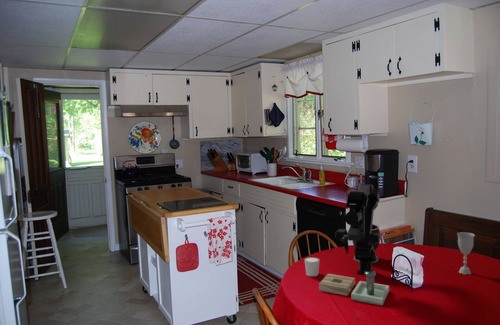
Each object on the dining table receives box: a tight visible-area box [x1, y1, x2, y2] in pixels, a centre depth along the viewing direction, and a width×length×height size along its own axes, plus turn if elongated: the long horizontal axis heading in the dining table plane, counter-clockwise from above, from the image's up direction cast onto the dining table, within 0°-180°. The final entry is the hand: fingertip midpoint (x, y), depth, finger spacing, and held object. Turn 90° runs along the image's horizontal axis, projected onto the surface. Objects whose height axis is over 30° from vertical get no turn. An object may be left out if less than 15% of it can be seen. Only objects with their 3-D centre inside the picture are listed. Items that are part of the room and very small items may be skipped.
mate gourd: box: [352, 223, 381, 264], centre depth 204 cm, size 16×14×20 cm
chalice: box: [456, 231, 476, 275], centre depth 181 cm, size 7×7×18 cm
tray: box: [350, 280, 390, 306], centre depth 162 cm, size 14×12×2 cm
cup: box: [304, 256, 320, 277], centre depth 186 cm, size 7×7×7 cm
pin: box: [364, 270, 377, 295], centre depth 161 cm, size 4×4×9 cm
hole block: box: [318, 273, 356, 296], centre depth 170 cm, size 12×12×3 cm
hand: (357, 254), depth 173 cm, fingers open, 9 cm apart
